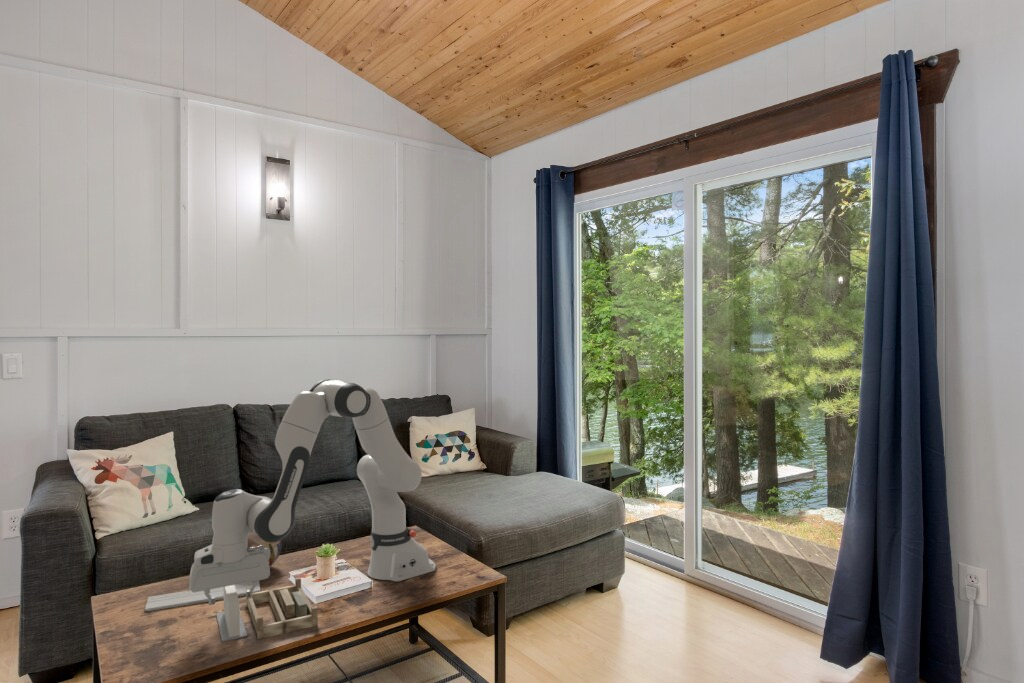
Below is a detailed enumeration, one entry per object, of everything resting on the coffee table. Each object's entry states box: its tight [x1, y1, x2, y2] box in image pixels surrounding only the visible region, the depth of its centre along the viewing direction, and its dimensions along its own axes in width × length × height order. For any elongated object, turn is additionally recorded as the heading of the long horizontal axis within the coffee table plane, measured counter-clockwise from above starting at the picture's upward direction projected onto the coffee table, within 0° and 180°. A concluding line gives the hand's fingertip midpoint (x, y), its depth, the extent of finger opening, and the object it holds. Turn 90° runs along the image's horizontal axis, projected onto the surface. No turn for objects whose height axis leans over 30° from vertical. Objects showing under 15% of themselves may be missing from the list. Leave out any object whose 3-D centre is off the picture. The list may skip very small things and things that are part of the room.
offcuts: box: [278, 589, 307, 619], centre depth 183 cm, size 5×16×4 cm, turn 29°
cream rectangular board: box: [223, 585, 240, 637], centre depth 174 cm, size 2×16×9 cm, turn 29°
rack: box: [245, 576, 319, 640], centre depth 180 cm, size 15×24×5 cm, turn 29°
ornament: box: [247, 532, 282, 567], centre depth 213 cm, size 15×15×15 cm
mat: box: [216, 609, 248, 643], centre depth 174 cm, size 6×18×1 cm, turn 29°
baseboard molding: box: [144, 580, 261, 613], centre depth 194 cm, size 31×3×12 cm
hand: (230, 600), depth 174 cm, fingers open, 8 cm apart
